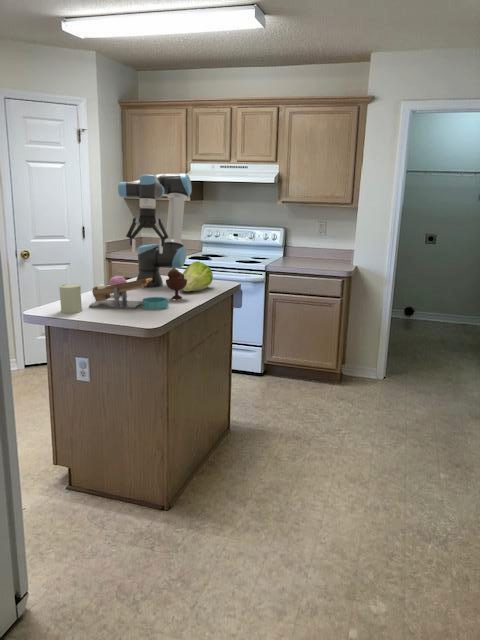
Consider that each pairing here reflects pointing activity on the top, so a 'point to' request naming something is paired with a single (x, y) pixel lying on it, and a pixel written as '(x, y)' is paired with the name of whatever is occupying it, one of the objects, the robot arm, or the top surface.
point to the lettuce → (197, 276)
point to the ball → (101, 286)
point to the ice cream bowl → (176, 282)
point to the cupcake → (117, 280)
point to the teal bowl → (155, 303)
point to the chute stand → (117, 302)
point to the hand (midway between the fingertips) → (147, 253)
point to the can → (70, 298)
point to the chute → (105, 292)
